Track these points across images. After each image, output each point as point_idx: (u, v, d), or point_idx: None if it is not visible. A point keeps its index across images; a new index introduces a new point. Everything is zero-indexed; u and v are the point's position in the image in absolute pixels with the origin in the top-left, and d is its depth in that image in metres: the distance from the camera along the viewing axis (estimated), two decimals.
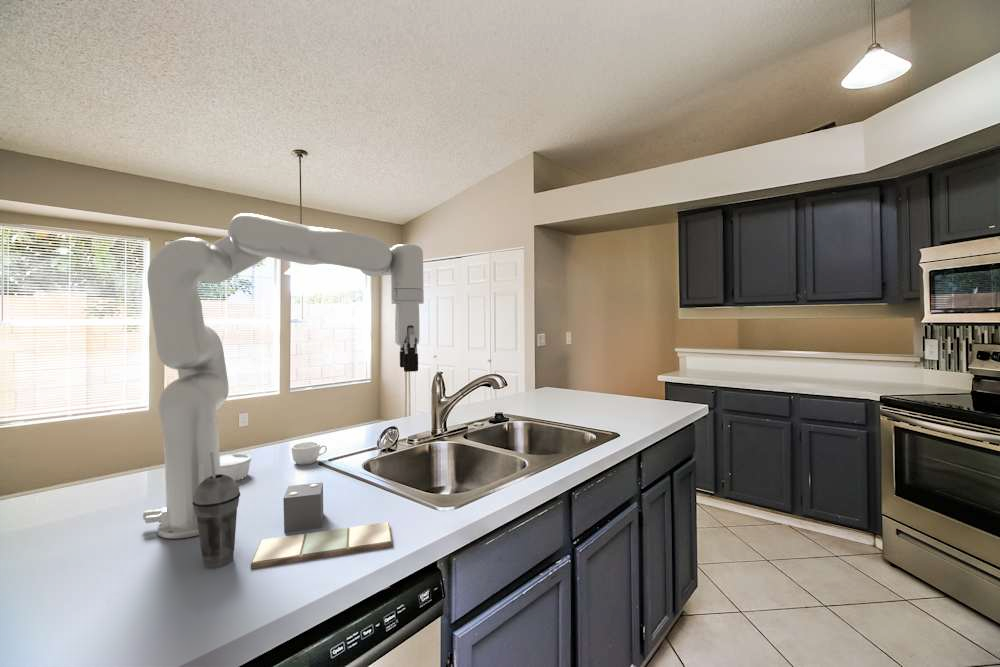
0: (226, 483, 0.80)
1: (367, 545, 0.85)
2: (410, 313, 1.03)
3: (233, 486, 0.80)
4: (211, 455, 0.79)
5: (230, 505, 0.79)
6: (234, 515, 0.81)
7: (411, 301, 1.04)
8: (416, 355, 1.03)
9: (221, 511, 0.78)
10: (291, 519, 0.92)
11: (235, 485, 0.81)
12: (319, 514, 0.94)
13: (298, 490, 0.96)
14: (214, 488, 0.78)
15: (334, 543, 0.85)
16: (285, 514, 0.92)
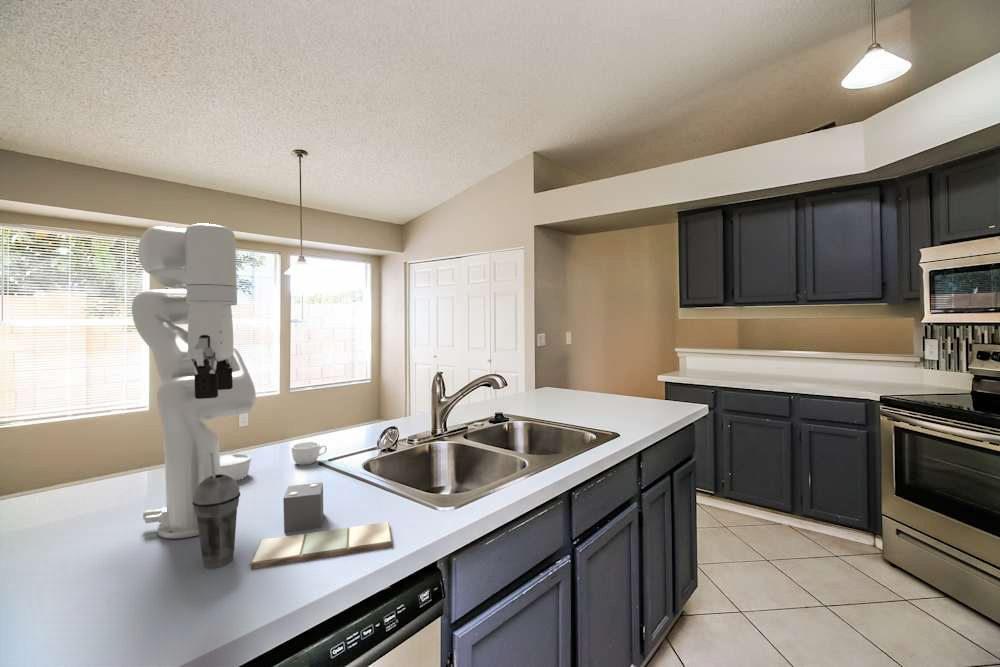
0: (226, 483, 0.80)
1: (367, 545, 0.85)
2: (205, 318, 0.75)
3: (233, 486, 0.80)
4: (211, 455, 0.79)
5: (230, 505, 0.79)
6: (234, 515, 0.81)
7: (209, 302, 0.76)
8: (214, 376, 0.75)
9: (221, 511, 0.78)
10: (291, 519, 0.92)
11: (235, 485, 0.81)
12: (319, 514, 0.94)
13: (298, 490, 0.96)
14: (214, 488, 0.78)
15: (334, 543, 0.85)
16: (285, 514, 0.92)
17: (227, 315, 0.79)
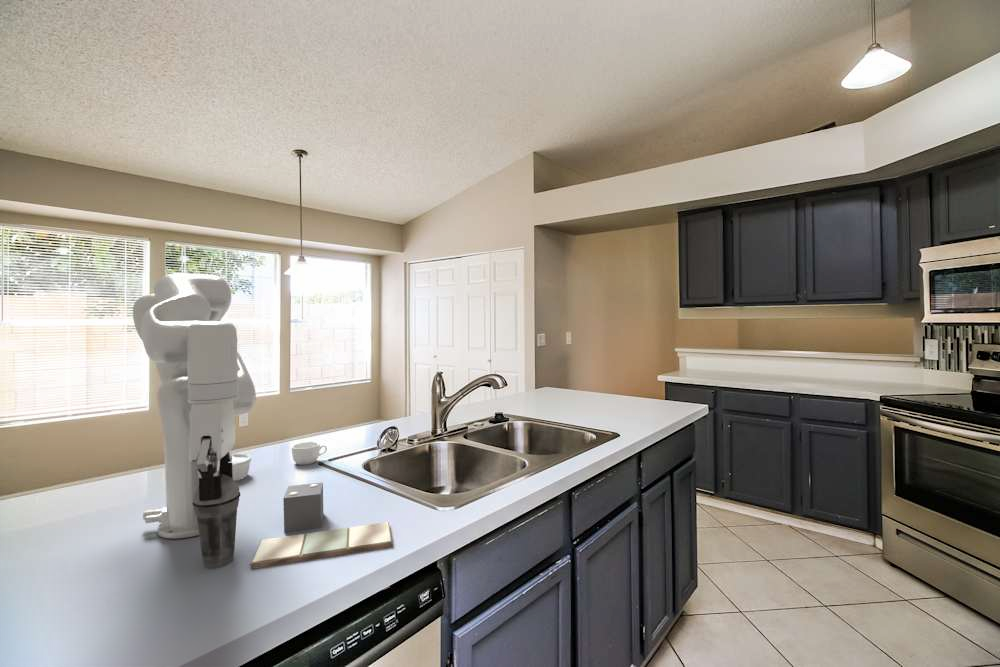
0: (226, 483, 0.79)
1: (367, 545, 0.85)
2: (206, 419, 0.75)
3: (233, 486, 0.80)
4: (211, 455, 0.79)
5: (230, 505, 0.79)
6: (234, 515, 0.81)
7: (210, 401, 0.76)
8: (218, 478, 0.77)
9: (221, 511, 0.78)
10: (291, 519, 0.92)
11: (235, 485, 0.81)
12: (319, 514, 0.94)
13: (298, 490, 0.96)
14: None
15: (334, 543, 0.85)
16: (285, 514, 0.92)
17: (228, 410, 0.80)
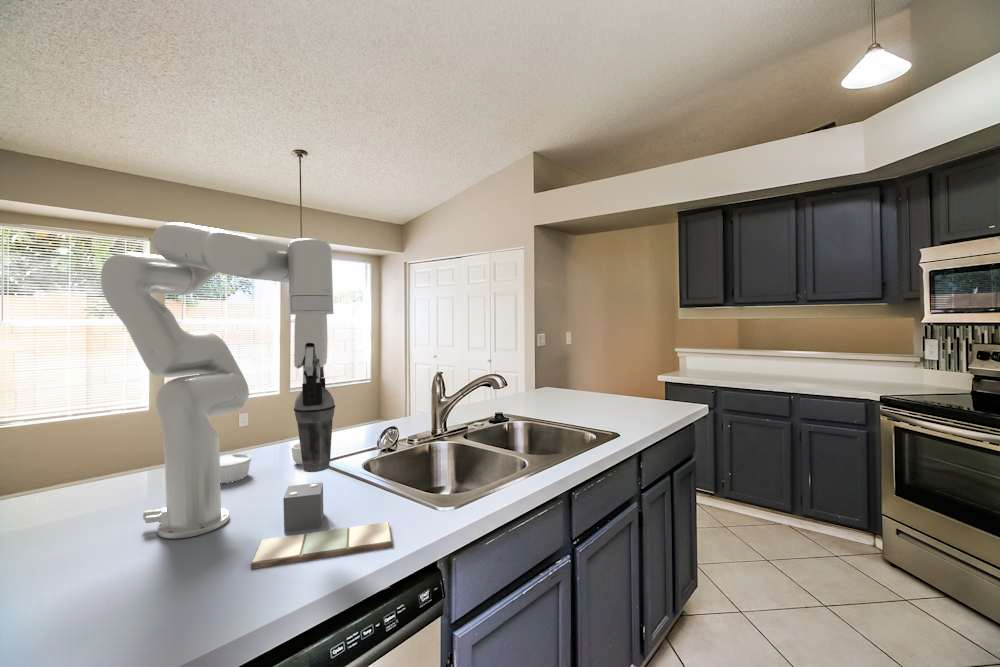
0: (324, 392, 0.84)
1: (367, 545, 0.85)
2: (309, 327, 0.80)
3: (330, 396, 0.85)
4: None
5: (328, 413, 0.83)
6: (331, 424, 0.85)
7: (312, 311, 0.81)
8: (319, 385, 0.81)
9: (321, 417, 0.82)
10: (291, 519, 0.92)
11: (331, 396, 0.85)
12: (319, 514, 0.94)
13: (298, 490, 0.96)
14: None
15: (334, 543, 0.85)
16: (285, 514, 0.92)
17: (326, 324, 0.84)
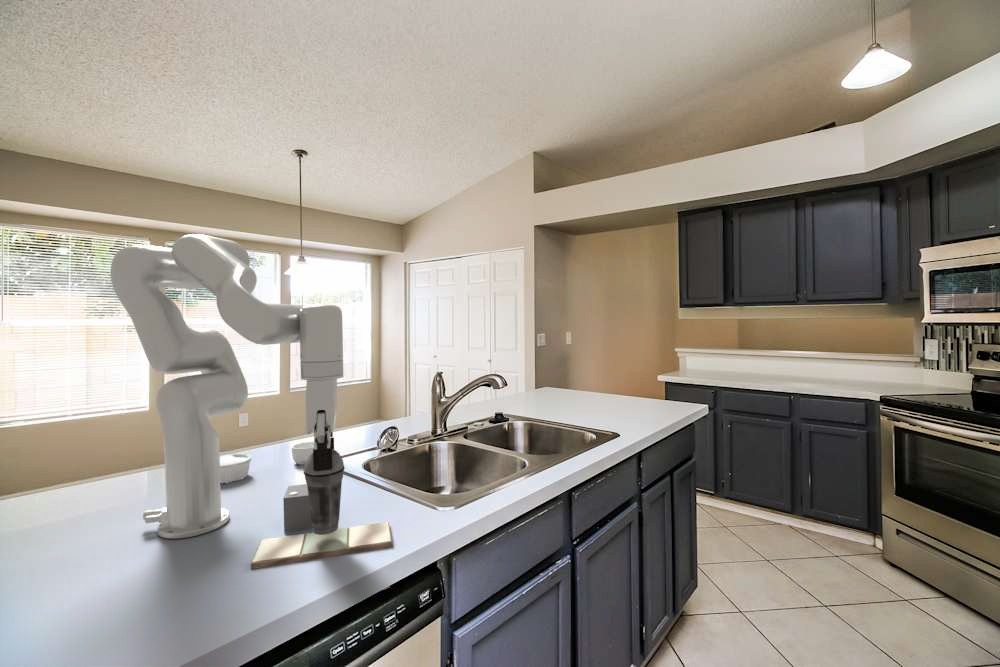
0: (334, 455, 0.85)
1: (367, 545, 0.85)
2: (321, 394, 0.81)
3: (339, 458, 0.86)
4: None
5: (338, 476, 0.84)
6: (340, 486, 0.86)
7: (323, 378, 0.82)
8: (329, 450, 0.82)
9: (331, 481, 0.83)
10: (291, 519, 0.92)
11: (341, 458, 0.86)
12: None
13: (298, 490, 0.96)
14: None
15: (334, 543, 0.85)
16: (285, 514, 0.92)
17: (336, 387, 0.85)
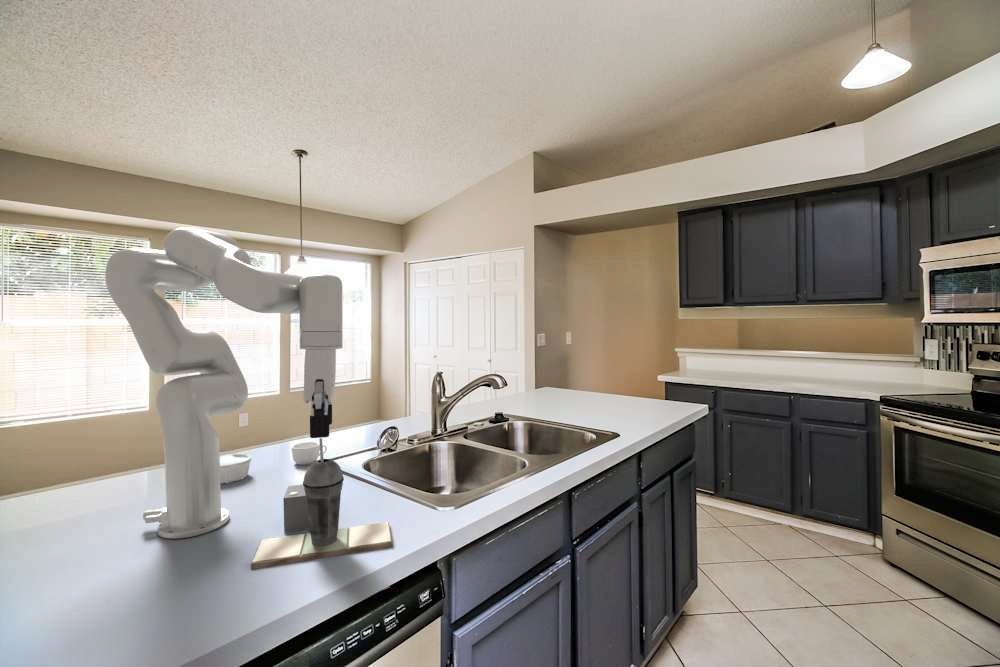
0: (333, 467, 0.85)
1: (367, 545, 0.85)
2: (319, 363, 0.81)
3: (339, 469, 0.86)
4: (320, 440, 0.84)
5: (337, 487, 0.84)
6: (339, 497, 0.86)
7: (322, 347, 0.82)
8: (327, 417, 0.81)
9: (330, 492, 0.83)
10: (291, 519, 0.92)
11: (340, 469, 0.86)
12: None
13: (298, 490, 0.96)
14: (324, 471, 0.83)
15: (334, 543, 0.85)
16: (285, 514, 0.92)
17: (335, 358, 0.85)
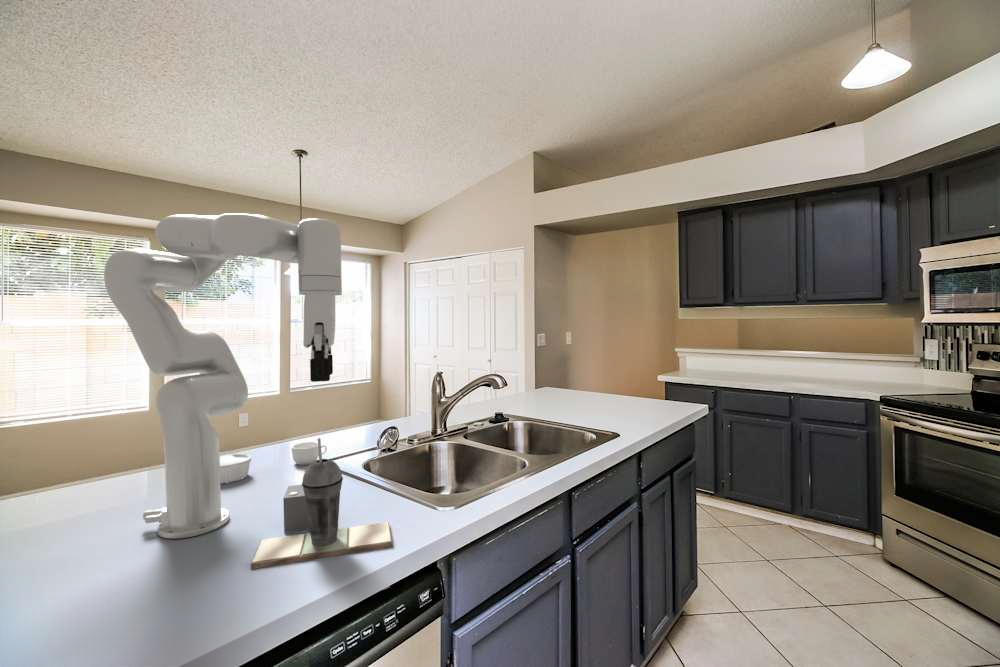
0: (332, 466, 0.85)
1: (367, 545, 0.85)
2: (319, 307, 0.80)
3: (338, 469, 0.86)
4: (319, 440, 0.84)
5: (336, 487, 0.84)
6: (338, 497, 0.86)
7: (321, 291, 0.81)
8: (327, 360, 0.81)
9: (329, 492, 0.83)
10: (291, 519, 0.92)
11: (339, 469, 0.86)
12: None
13: (298, 490, 0.96)
14: (323, 471, 0.83)
15: (334, 543, 0.85)
16: (285, 514, 0.92)
17: (334, 304, 0.85)
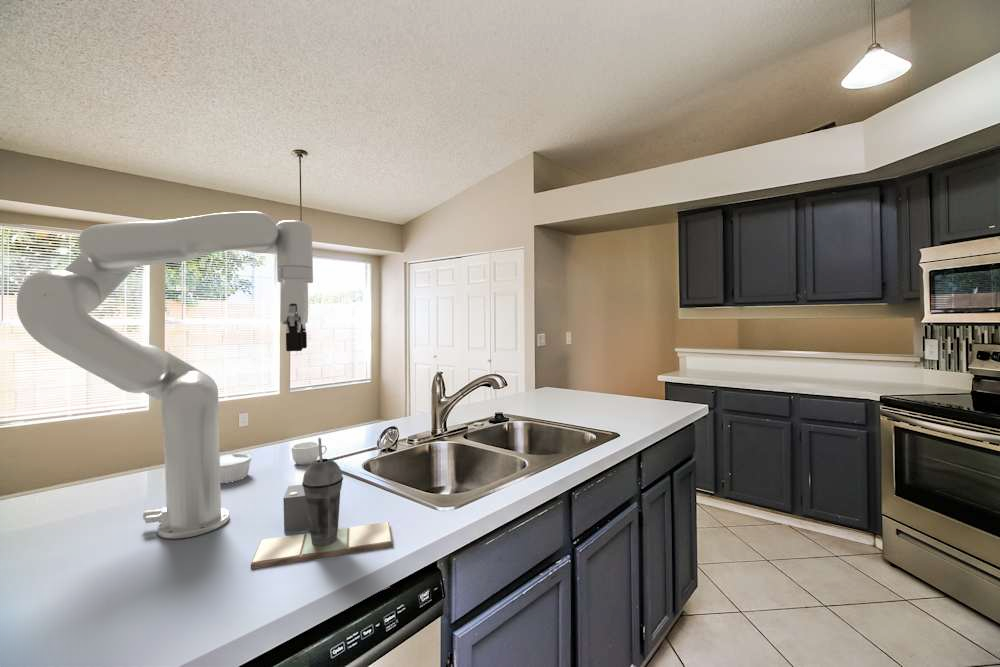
0: (332, 466, 0.85)
1: (367, 545, 0.85)
2: (293, 291, 1.00)
3: (338, 469, 0.86)
4: (319, 440, 0.84)
5: (337, 487, 0.85)
6: (339, 497, 0.86)
7: (295, 279, 1.01)
8: (299, 334, 1.00)
9: (329, 492, 0.83)
10: (291, 519, 0.92)
11: (339, 469, 0.86)
12: None
13: (298, 490, 0.96)
14: (323, 471, 0.83)
15: (334, 543, 0.85)
16: (285, 514, 0.92)
17: (306, 289, 1.04)
